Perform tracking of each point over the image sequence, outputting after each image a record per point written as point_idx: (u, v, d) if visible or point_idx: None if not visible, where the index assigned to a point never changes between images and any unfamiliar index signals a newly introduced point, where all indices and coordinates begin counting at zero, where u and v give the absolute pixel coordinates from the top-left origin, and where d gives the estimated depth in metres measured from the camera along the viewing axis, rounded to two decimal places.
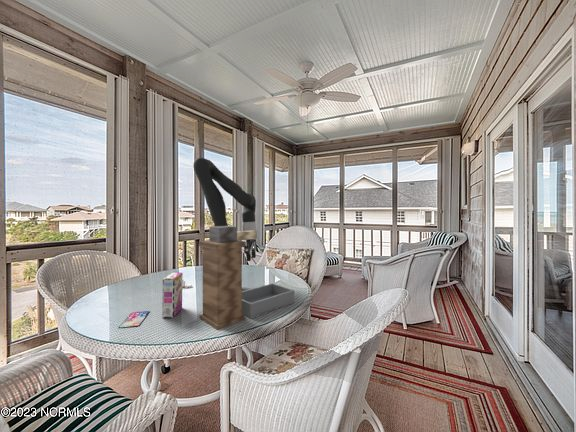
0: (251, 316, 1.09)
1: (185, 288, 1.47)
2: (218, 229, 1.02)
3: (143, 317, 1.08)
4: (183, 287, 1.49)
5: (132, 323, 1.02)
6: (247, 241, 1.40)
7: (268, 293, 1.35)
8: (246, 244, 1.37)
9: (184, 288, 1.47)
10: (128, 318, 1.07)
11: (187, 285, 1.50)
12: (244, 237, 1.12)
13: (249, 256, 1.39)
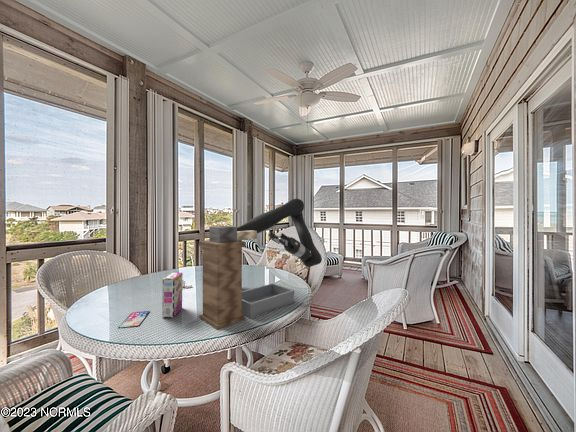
0: (251, 316, 1.09)
1: (185, 288, 1.46)
2: (218, 229, 1.02)
3: (143, 317, 1.08)
4: (183, 287, 1.49)
5: (132, 323, 1.02)
6: None
7: (268, 293, 1.35)
8: (296, 243, 1.28)
9: (184, 288, 1.46)
10: (128, 318, 1.07)
11: (187, 285, 1.49)
12: (244, 237, 1.12)
13: (284, 238, 1.25)
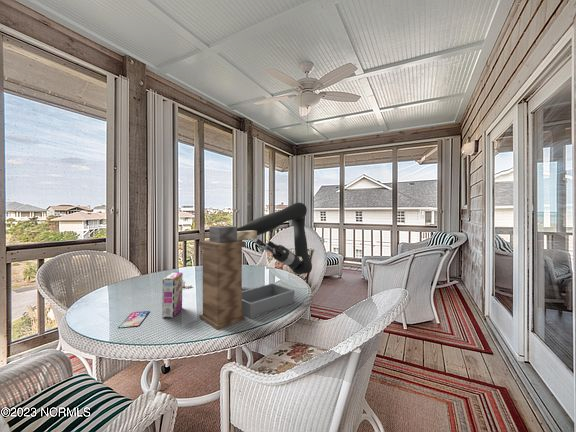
0: (251, 316, 1.09)
1: (185, 288, 1.46)
2: (218, 229, 1.02)
3: (143, 317, 1.08)
4: (183, 287, 1.48)
5: (132, 323, 1.02)
6: None
7: (268, 293, 1.35)
8: (284, 252, 1.22)
9: (184, 288, 1.46)
10: (128, 318, 1.07)
11: (187, 285, 1.49)
12: (244, 237, 1.12)
13: (271, 246, 1.20)
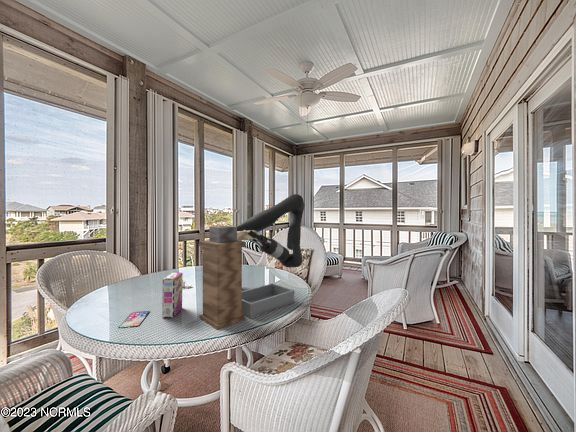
0: (251, 316, 1.09)
1: (185, 288, 1.46)
2: (218, 229, 1.02)
3: (143, 317, 1.08)
4: (183, 287, 1.48)
5: (132, 323, 1.02)
6: None
7: (268, 293, 1.35)
8: (268, 241, 1.16)
9: None
10: (128, 318, 1.07)
11: (187, 285, 1.49)
12: (244, 237, 1.12)
13: (253, 236, 1.15)
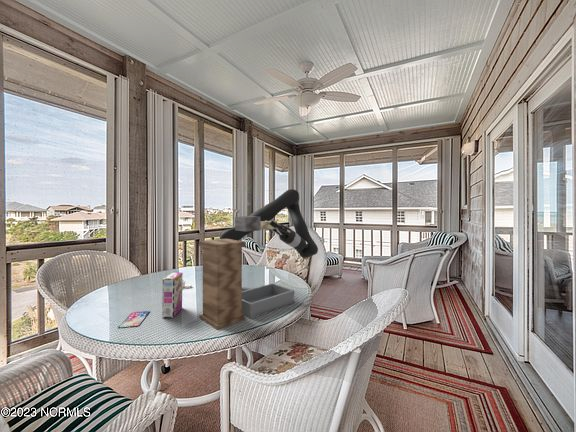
0: (251, 316, 1.09)
1: (185, 288, 1.46)
2: (244, 218, 1.10)
3: (143, 317, 1.08)
4: (183, 287, 1.48)
5: (132, 323, 1.02)
6: None
7: (268, 293, 1.35)
8: (288, 231, 1.24)
9: None
10: (128, 318, 1.07)
11: (187, 285, 1.49)
12: (266, 227, 1.21)
13: (274, 226, 1.23)
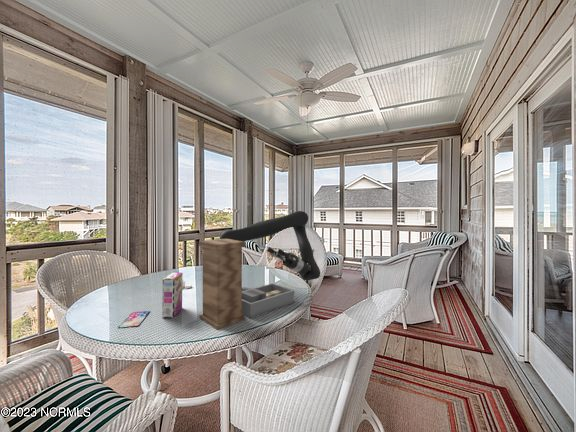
0: (251, 316, 1.09)
1: None
2: (250, 298, 1.14)
3: (143, 317, 1.08)
4: (183, 287, 1.48)
5: (132, 323, 1.02)
6: None
7: None
8: (294, 259, 1.27)
9: None
10: (128, 318, 1.07)
11: (187, 285, 1.49)
12: None
13: (281, 254, 1.25)
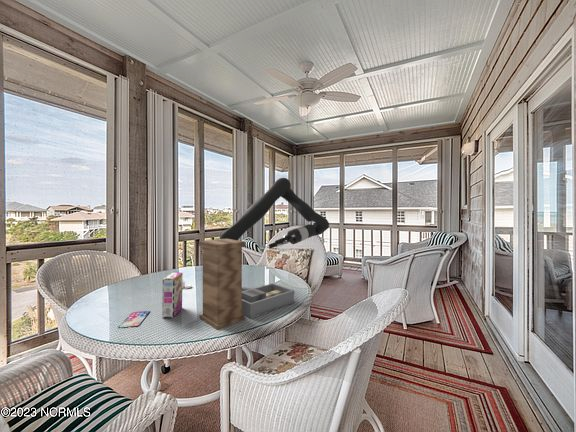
0: (251, 316, 1.09)
1: None
2: (250, 298, 1.14)
3: (143, 317, 1.08)
4: None
5: (132, 323, 1.02)
6: None
7: None
8: (293, 236, 1.31)
9: None
10: (128, 318, 1.07)
11: (187, 286, 1.48)
12: None
13: (281, 242, 1.29)
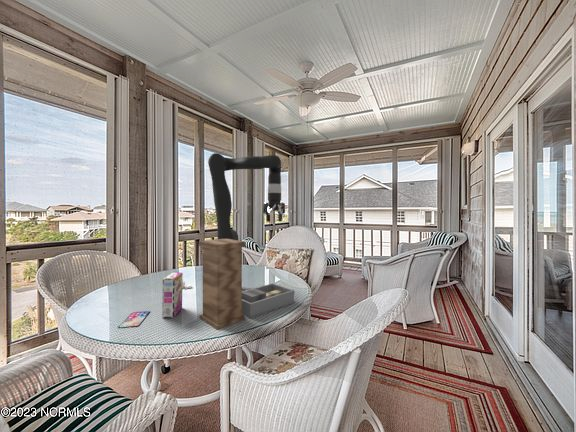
0: (251, 316, 1.09)
1: None
2: (250, 298, 1.14)
3: (143, 317, 1.08)
4: None
5: (132, 323, 1.02)
6: (269, 202, 1.43)
7: None
8: (265, 204, 1.41)
9: (184, 289, 1.45)
10: (128, 318, 1.07)
11: (187, 286, 1.48)
12: None
13: (268, 217, 1.42)
